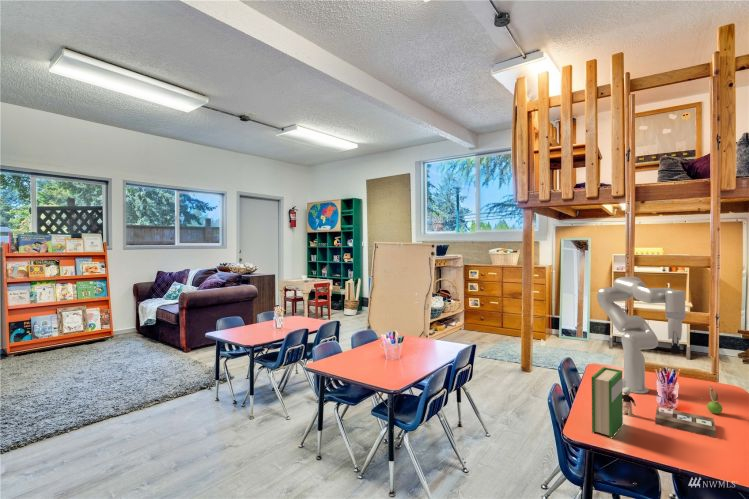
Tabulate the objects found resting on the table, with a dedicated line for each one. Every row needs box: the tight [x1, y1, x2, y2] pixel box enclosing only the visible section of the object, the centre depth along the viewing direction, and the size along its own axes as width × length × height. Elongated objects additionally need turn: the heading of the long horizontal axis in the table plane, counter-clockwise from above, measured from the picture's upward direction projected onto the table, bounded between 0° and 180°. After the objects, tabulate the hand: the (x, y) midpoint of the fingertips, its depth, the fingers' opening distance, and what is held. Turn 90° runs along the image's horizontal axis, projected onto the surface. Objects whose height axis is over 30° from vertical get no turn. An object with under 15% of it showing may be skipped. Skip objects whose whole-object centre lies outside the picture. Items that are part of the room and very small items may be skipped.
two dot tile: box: [658, 406, 674, 418], centre depth 171 cm, size 5×5×3 cm
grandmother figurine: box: [622, 387, 637, 417], centre depth 178 cm, size 8×4×13 cm, turn 47°
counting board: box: [654, 406, 717, 438], centre depth 167 cm, size 20×14×3 cm
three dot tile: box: [677, 415, 692, 422], centre depth 167 cm, size 5×5×3 cm
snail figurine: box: [706, 385, 723, 415], centre depth 178 cm, size 5×6×12 cm
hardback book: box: [591, 366, 624, 438], centre depth 164 cm, size 18×7×24 cm, turn 135°
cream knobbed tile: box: [696, 419, 712, 426], centre depth 163 cm, size 5×5×3 cm
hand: (675, 353), depth 182 cm, fingers closed
